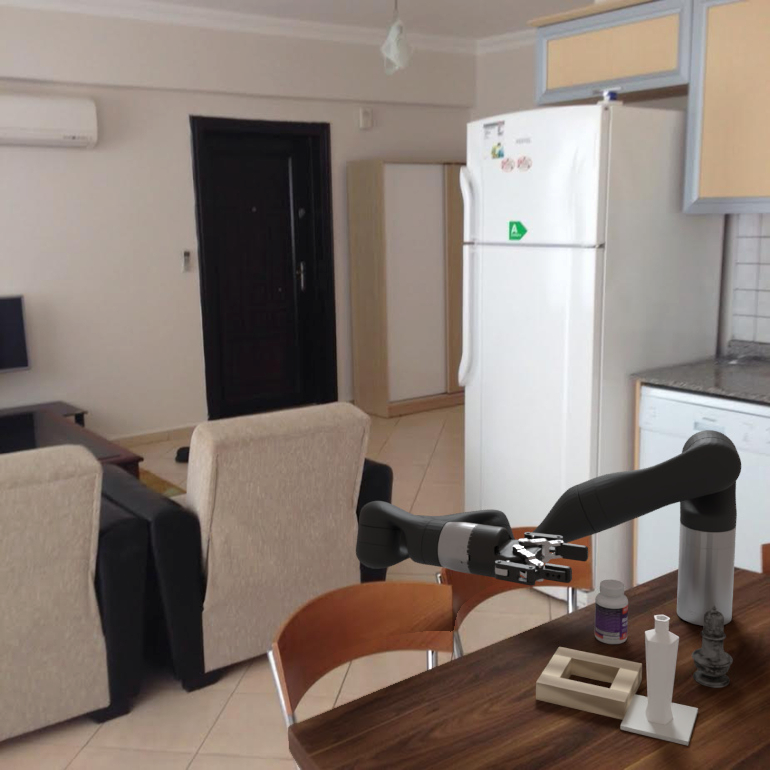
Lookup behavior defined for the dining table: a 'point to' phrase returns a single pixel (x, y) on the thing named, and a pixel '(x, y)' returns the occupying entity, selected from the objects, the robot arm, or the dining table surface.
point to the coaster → (672, 731)
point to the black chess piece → (712, 653)
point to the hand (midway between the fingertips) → (579, 564)
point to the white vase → (660, 670)
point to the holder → (588, 696)
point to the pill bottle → (611, 613)
